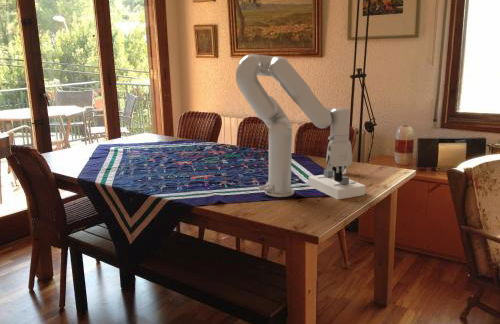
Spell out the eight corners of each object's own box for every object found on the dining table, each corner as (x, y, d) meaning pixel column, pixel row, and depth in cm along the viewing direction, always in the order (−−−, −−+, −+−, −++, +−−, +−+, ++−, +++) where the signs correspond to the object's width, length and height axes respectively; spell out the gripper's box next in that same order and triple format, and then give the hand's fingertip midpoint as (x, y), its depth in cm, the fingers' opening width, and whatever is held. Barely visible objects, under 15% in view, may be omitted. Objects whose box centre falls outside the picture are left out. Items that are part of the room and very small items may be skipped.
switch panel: (337, 199, 186) (338, 189, 185) (308, 185, 205) (308, 176, 204) (364, 194, 192) (365, 185, 191) (333, 181, 211) (334, 172, 210)
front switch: (343, 184, 191) (343, 178, 190) (338, 182, 194) (338, 176, 193) (348, 183, 192) (349, 177, 192) (344, 181, 195) (344, 175, 194)
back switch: (327, 177, 202) (328, 171, 201) (323, 175, 205) (323, 169, 204) (333, 176, 203) (333, 170, 202) (329, 174, 206) (329, 168, 205)
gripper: (329, 141, 180) (328, 186, 185) (360, 138, 187) (358, 181, 191) (318, 138, 187) (317, 181, 191) (348, 135, 193) (347, 176, 198)
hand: (337, 181), depth 191 cm, fingers closed
